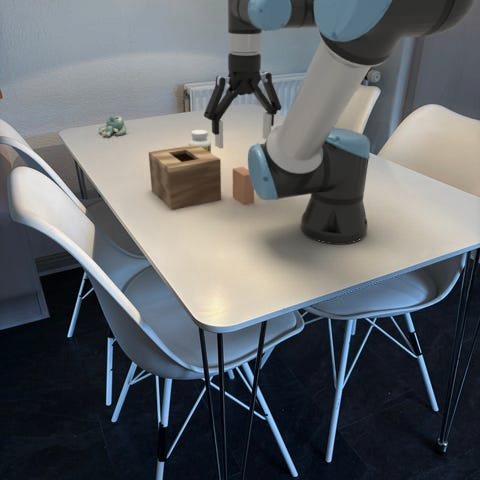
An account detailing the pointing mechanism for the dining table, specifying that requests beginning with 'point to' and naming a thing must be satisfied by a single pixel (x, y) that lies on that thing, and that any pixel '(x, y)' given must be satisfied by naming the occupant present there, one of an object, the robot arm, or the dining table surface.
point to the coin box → (185, 176)
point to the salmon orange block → (242, 186)
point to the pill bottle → (200, 139)
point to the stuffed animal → (113, 126)
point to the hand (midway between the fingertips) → (243, 143)
